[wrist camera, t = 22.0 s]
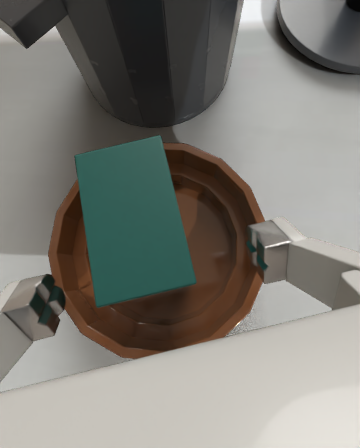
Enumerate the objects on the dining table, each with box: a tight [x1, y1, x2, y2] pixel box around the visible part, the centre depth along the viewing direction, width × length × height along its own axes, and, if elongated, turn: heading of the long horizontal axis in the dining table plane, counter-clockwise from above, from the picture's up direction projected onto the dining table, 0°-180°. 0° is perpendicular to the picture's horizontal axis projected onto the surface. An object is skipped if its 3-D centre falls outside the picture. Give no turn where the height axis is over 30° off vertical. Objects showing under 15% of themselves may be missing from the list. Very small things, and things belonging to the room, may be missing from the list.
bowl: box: [48, 143, 265, 359], centre depth 14 cm, size 12×12×4 cm
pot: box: [0, 0, 244, 127], centre depth 15 cm, size 12×18×10 cm
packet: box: [75, 135, 197, 308], centre depth 11 cm, size 3×5×9 cm, turn 13°
